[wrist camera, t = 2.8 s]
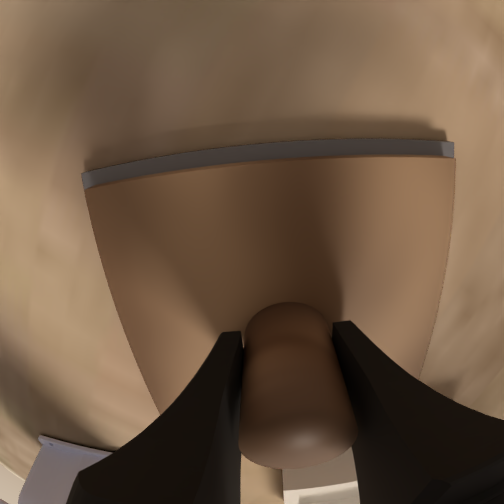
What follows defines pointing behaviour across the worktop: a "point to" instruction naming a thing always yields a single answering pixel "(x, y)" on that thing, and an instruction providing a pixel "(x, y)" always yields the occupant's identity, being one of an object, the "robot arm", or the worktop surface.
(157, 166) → the mat
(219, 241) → the lid
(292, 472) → the dish
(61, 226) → the worktop surface
